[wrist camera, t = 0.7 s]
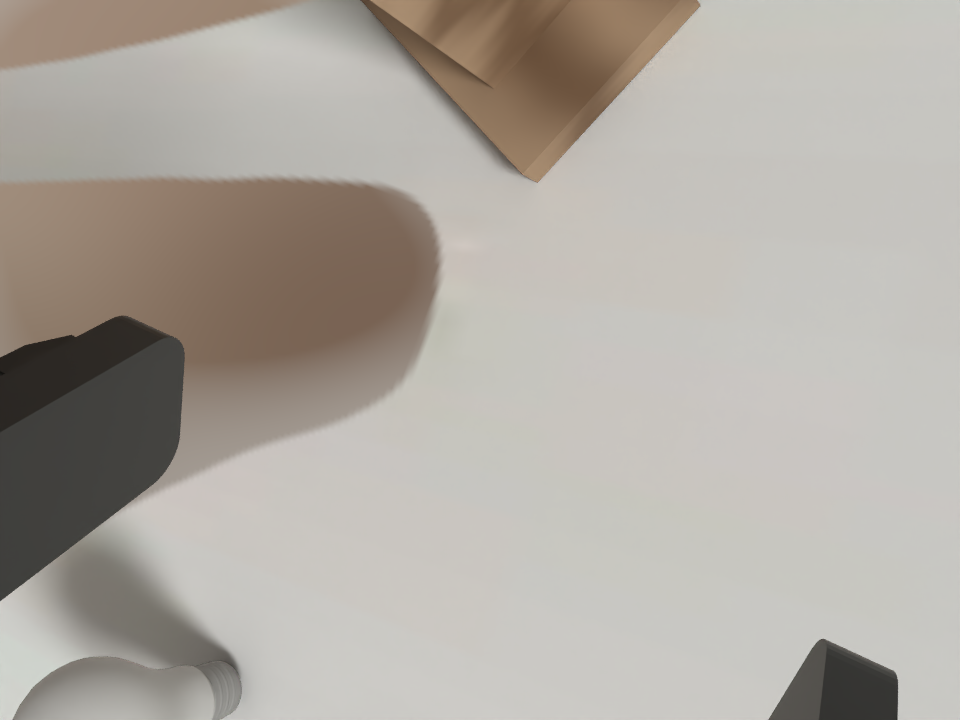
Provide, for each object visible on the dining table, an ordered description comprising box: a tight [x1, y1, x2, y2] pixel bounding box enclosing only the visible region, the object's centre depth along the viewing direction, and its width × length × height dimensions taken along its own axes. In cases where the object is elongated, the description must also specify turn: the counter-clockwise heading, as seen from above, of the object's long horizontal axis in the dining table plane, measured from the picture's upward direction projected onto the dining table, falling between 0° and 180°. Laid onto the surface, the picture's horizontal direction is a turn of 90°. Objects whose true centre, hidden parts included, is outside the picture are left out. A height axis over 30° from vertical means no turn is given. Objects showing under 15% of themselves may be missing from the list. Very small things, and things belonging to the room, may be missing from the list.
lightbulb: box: [13, 656, 242, 720], centre depth 38 cm, size 6×6×11 cm
